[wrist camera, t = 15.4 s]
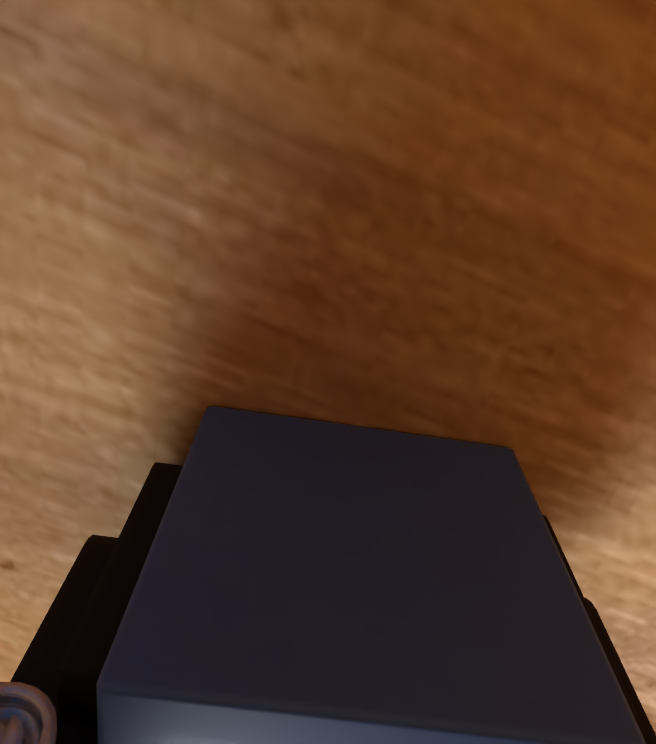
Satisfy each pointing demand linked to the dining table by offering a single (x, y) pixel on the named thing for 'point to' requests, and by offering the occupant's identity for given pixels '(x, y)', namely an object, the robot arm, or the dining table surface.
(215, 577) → the blue block
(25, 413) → the dining table surface
